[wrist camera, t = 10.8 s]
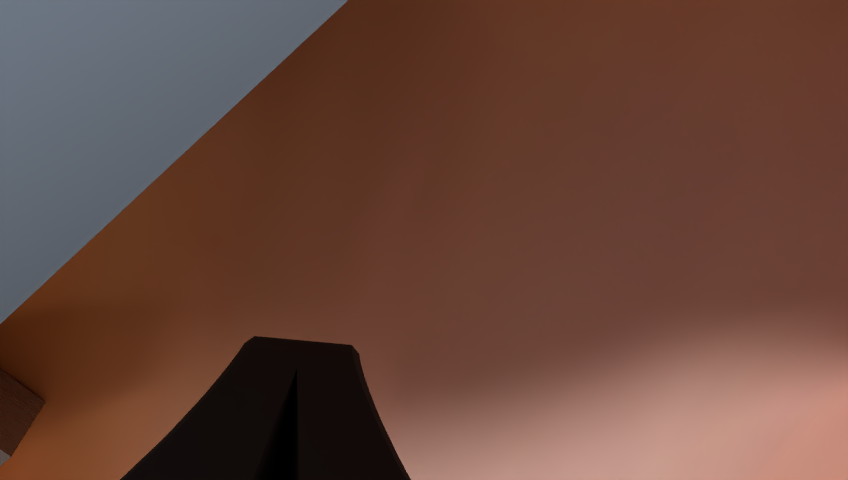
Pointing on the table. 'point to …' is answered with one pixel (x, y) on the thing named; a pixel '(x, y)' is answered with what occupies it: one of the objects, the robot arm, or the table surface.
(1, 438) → the guide rail
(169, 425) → the table surface
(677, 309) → the table surface
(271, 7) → the sliding jaw
